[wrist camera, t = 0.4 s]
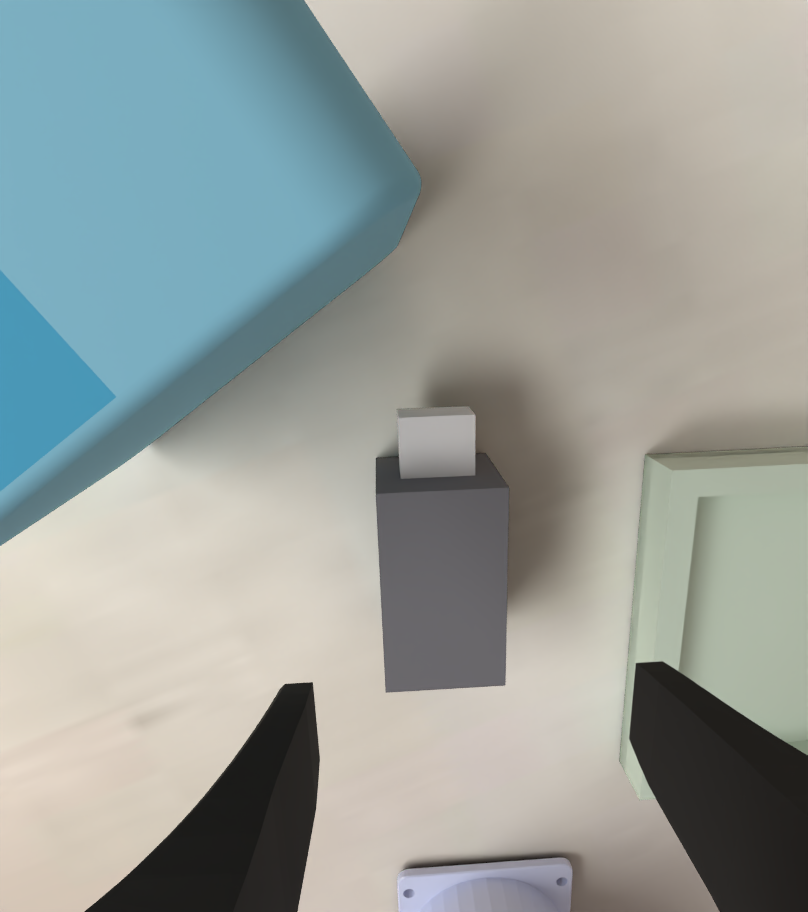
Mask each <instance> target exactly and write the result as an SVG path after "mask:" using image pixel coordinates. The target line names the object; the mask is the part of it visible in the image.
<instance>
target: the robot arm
mask: <svg viewBox="0 0 808 912" xmlns="http://www.w3.org/2000/svg"><path fill="white" fill-rule="evenodd" d="M629 740H630V742H631V745H632V747H633V750H634V752H635V755H636V757H637V760H638V762H639V765H640V767H641V769H642V771H643V774H644V776H645V778H646V780H647V783H648V785H649V787H650V789H651V790H652V792H653V794H654V796H655V798H656V800H657V801H658V803H659V805H660V807H661V808H662V810H663V812H664V814H665V815H666V817H667V819H668V821H669V823H670V824H671V826H672V828H673V830H674V831H675V833H676V835H677V837H678V838H679V840H680V842H681V843H682V845H683V847H684V849H685V850H686V852H687V854H688V856H689V857H690V859H691V861H692V863H693V864H694V866H695V868H696V870H697V871H698V873H699V875H700V877H701V878H702V880H703V882H704V884H705V885H706V887H707V889H708V890H709V892H710V894H711V896H712V898H713V900H714V902H715V904H716V905H717V907H718V909H719V911H720V912H808V755H806V754H805V753H803V752H801V751H800V750H798V749H797V748H795V747H793V746H792V745H790V744H788V743H787V742H785V741H783V740H782V739H780V738H778V737H777V736H775V735H773V734H772V733H770V732H769V731H767V730H766V729H764V728H762V727H761V726H759V725H758V724H756V723H755V722H753V721H751V720H750V719H748V718H747V717H745V716H744V715H742V714H741V713H739V712H738V711H736V710H735V709H733V708H732V707H730V706H729V705H727V704H726V703H724V702H723V701H721V700H720V699H719V698H717V697H716V696H714V695H713V694H711V693H710V692H708V691H707V690H705V689H704V688H702V687H701V686H699V685H698V684H697V683H695V682H694V681H692V680H691V679H689V678H688V677H686V676H685V675H683V674H682V673H680V672H679V671H677V670H676V669H674V668H673V667H671V666H670V665H668V664H666V663H665V662H663V661H659V662H642V663H636V666H635V677H634V689H633V700H632V711H631V722H630V733H629ZM319 762H320V756H319V746H318V735H317V724H316V713H315V702H314V691H313V682H311V683H295V684H285V685H284V686H283V687H282V688H281V689H280V690H279V692H278V693H277V695H276V697H275V698H274V700H273V702H272V703H271V705H270V707H269V708H268V710H267V711H266V713H265V714H264V716H263V718H262V719H261V721H260V722H259V724H258V725H257V727H256V728H255V730H254V731H253V732H252V734H251V735H250V737H249V738H248V740H247V741H246V742H245V744H244V745H243V747H242V748H241V749H240V751H239V752H238V754H237V755H236V756H235V758H234V759H233V760H232V762H231V763H230V764H229V766H228V767H227V768H226V769H225V771H224V772H223V773H222V774H221V776H220V777H219V778H218V779H217V781H216V782H215V783H214V785H213V786H212V787H211V788H210V790H209V791H208V792H207V793H206V794H205V796H204V797H203V798H202V799H201V800H200V801H199V803H198V804H197V805H196V806H195V807H194V808H193V809H192V811H191V812H190V813H189V814H188V815H187V816H186V817H185V818H184V819H183V820H182V822H181V823H180V824H179V825H178V826H177V827H176V828H175V829H174V830H173V831H172V832H171V833H170V834H169V835H168V836H167V837H166V838H165V839H164V840H163V841H162V842H161V843H160V844H159V845H158V846H157V847H156V848H155V849H154V850H153V851H152V852H151V853H150V854H149V855H148V856H147V857H146V858H145V859H144V860H143V861H142V862H141V863H140V864H139V865H138V866H137V867H136V868H135V869H134V870H133V871H131V872H130V873H129V874H128V875H127V876H126V877H125V878H124V879H123V880H122V881H120V882H119V883H118V884H117V885H116V886H115V887H113V888H112V889H111V890H110V891H109V892H108V893H106V894H105V895H104V896H103V897H102V898H100V899H99V900H98V901H97V902H96V903H94V904H93V905H92V906H91V907H90V908H88V909H87V910H86V911H85V912H297V911H298V905H299V900H300V894H301V889H302V883H303V878H304V872H305V867H306V861H307V856H308V850H309V845H310V839H311V834H312V828H313V823H314V817H315V811H316V802H317V790H318V777H319ZM572 877H573V870H572V867H571V864H570V862H569V860H568V859H565V858H546V859H533V860H520V861H507V862H493V863H480V864H467V865H453V866H440V867H427V868H414V869H405V870H403V871H401V872H400V873H399V874H398V877H397V887H398V906H399V912H570V910H571V893H572Z"/></svg>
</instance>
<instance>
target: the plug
mask: <svg viewBox="0 0 808 912" xmlns="http://www.w3.org/2000/svg"><path fill="white" fill-rule="evenodd" d="M397 420H398V447H399V457H388V458H376V507H377V527H378V547H379V567H380V587H381V607H382V627H383V647H384V667H385V687H386V692H403V691H419V690H436V689H453V688H470V687H487V686H503V685H505V676H506V623H507V571H508V519H509V487H508V485H507V484H506V482H505V481H504V479H503V478H502V477H501V475H500V474H499V472H498V471H497V469H496V468H495V466H494V465H493V463H492V462H491V461H490V459H489V458H488V456H487V455H486V453H476V454H475V413H474V412H473V411H472V410H471V409H470V407H469V406H459V407H435V408H411V409H397Z"/></svg>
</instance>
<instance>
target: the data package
mask: <svg viewBox="0 0 808 912" xmlns="http://www.w3.org/2000/svg"><path fill="white" fill-rule="evenodd" d="M420 190H421V178H420V175H419V173H418V171H417V169H416V168H415V166H414V165H413V163H412V162H411V160H410V159H409V157H408V156H407V154H406V153H405V151H404V150H403V148H402V147H401V145H400V144H399V142H398V141H397V139H396V138H395V136H394V135H393V133H392V132H391V130H390V129H389V127H388V126H387V124H386V123H385V121H384V120H383V118H382V117H381V115H380V114H379V112H378V111H377V109H376V108H375V106H374V105H373V103H372V102H371V100H370V99H369V97H368V96H367V94H366V93H365V91H364V90H363V88H362V87H361V85H360V84H359V82H358V81H357V79H356V78H355V76H354V75H353V73H352V72H351V70H350V69H349V67H348V66H347V64H346V63H345V61H344V60H343V58H342V57H341V55H340V54H339V52H338V51H337V49H336V48H335V46H334V45H333V43H332V42H331V40H330V39H329V37H328V36H327V34H326V33H325V31H324V30H323V28H322V27H321V25H320V24H319V22H318V21H317V19H316V18H315V16H314V15H313V13H312V12H311V10H310V9H309V7H308V6H307V4H306V3H305V1H304V0H0V546H1V545H2V544H4V543H5V542H7V541H8V540H10V539H11V538H13V537H14V536H16V535H17V534H19V533H20V532H22V531H23V530H25V529H26V528H28V527H29V526H31V525H32V524H34V523H35V522H37V521H38V520H40V519H41V518H43V517H45V516H46V515H48V514H49V513H51V512H52V511H54V510H55V509H57V508H58V507H60V506H61V505H63V504H64V503H66V502H67V501H69V500H70V499H72V498H73V497H75V496H76V495H78V494H79V493H81V492H82V491H84V490H85V489H87V488H88V487H90V486H91V485H93V484H94V483H96V482H97V481H99V480H100V479H102V478H103V477H105V476H106V475H108V474H109V473H111V472H112V471H114V470H115V469H117V468H118V467H120V466H121V465H122V464H124V463H125V462H127V461H128V460H129V459H131V458H132V457H134V456H135V455H136V454H138V453H139V452H140V451H142V450H143V449H144V448H146V447H147V446H148V445H150V444H151V443H152V442H153V441H155V440H156V439H157V438H159V437H160V436H161V435H162V434H164V433H165V432H166V431H167V430H169V429H170V428H171V427H173V426H174V425H175V424H176V423H178V422H179V421H180V420H181V419H183V418H184V417H185V416H186V415H188V414H189V413H190V412H192V411H193V410H194V409H195V408H197V407H198V406H199V405H200V404H202V403H203V402H204V401H205V400H207V399H208V398H209V397H211V396H212V395H213V394H214V393H216V392H217V391H218V390H219V389H221V388H222V387H223V386H224V385H226V384H227V383H228V382H229V381H231V380H232V379H233V378H235V377H236V376H237V375H238V374H240V373H241V372H242V371H243V370H245V369H246V368H247V367H248V366H250V365H251V364H252V363H254V362H255V361H256V360H257V359H259V358H260V357H261V356H262V355H264V354H265V353H266V352H267V351H269V350H270V349H271V348H273V347H274V346H275V345H276V344H278V343H279V342H280V341H281V340H283V339H284V338H285V337H286V336H288V335H289V334H290V333H291V332H293V331H294V330H295V329H297V328H298V327H299V326H300V325H302V324H303V323H304V322H305V321H307V320H308V319H309V318H310V317H312V316H313V315H314V314H316V313H317V312H318V311H319V310H321V309H322V308H323V307H324V306H326V305H327V304H328V303H329V302H331V301H332V300H333V299H335V298H336V297H337V296H338V295H340V294H341V293H342V292H343V291H345V290H346V289H347V288H348V287H350V286H351V285H352V284H354V283H355V282H356V281H357V280H359V279H360V278H361V277H362V276H364V275H365V274H366V273H367V272H369V271H370V270H371V269H372V268H373V267H375V266H376V265H377V264H378V263H380V262H381V261H382V260H383V259H384V258H385V257H387V256H388V255H389V254H390V253H391V252H392V251H393V250H394V249H395V248H396V247H397V246H398V244H399V241H400V239H401V236H402V234H403V232H404V229H405V227H406V225H407V222H408V220H409V218H410V215H411V213H412V211H413V208H414V206H415V203H416V201H417V199H418V196H419V194H420Z"/></svg>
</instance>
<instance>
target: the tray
mask: <svg viewBox="0 0 808 912" xmlns="http://www.w3.org/2000/svg"><path fill="white" fill-rule="evenodd" d="M659 661H663V662H665V663H666V664H668V665H670V666H671V667H673V668H674V669H676V670H677V671H679V672H680V673H682V674H683V675H685V676H686V677H688V678H689V679H691V680H692V681H694V682H695V683H697V684H698V685H699V686H701V687H702V688H704V689H705V690H707V691H708V692H710V693H711V694H713V695H714V696H716V697H717V698H719V699H720V700H721V701H723V702H724V703H726V704H727V705H729V706H730V707H732V708H733V709H735V710H736V711H738V712H739V713H741V714H742V715H744V716H745V717H747V718H748V719H750V720H751V721H753V722H755V723H756V724H758V725H759V726H761V727H762V728H764V729H766V730H767V731H769V732H770V733H772V734H773V735H775V736H777V737H778V738H780V739H782V740H783V741H785V742H787V743H788V744H790V745H792V746H793V747H795V748H797V749H798V750H800V751H801V752H803V753H805V754H806V755H808V446H807V447H787V448H766V449H746V450H726V451H706V452H686V453H666V454H645V461H644V473H643V485H642V496H641V508H640V520H639V532H638V544H637V556H636V568H635V580H634V592H633V603H632V615H631V627H630V639H629V651H628V663H627V675H626V687H625V699H624V711H623V722H622V734H621V746H620V758H619V761H620V763H621V765H622V767H623V769H624V771H625V773H626V775H627V777H628V779H629V781H630V782H631V784H632V786H633V788H634V790H635V792H636V794H637V796H638V798H639V800H650V799H656V798H655V796H654V794H653V792H652V790H651V789H650V787H649V785H648V783H647V780H646V778H645V776H644V774H643V771H642V769H641V767H640V765H639V762H638V760H637V757H636V755H635V752H634V750H633V747H632V745H631V742H630V740H629V733H630V722H631V711H632V700H633V689H634V677H635V666H636V663H642V662H659Z"/></svg>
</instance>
